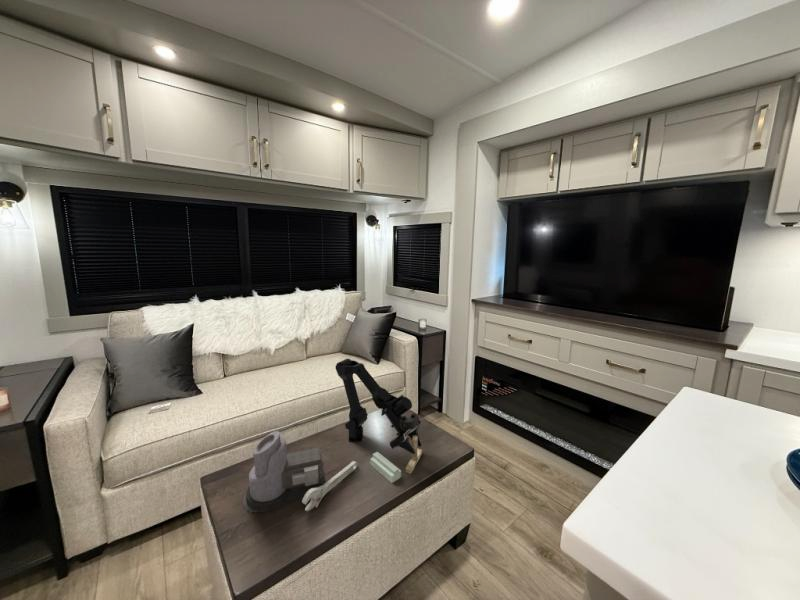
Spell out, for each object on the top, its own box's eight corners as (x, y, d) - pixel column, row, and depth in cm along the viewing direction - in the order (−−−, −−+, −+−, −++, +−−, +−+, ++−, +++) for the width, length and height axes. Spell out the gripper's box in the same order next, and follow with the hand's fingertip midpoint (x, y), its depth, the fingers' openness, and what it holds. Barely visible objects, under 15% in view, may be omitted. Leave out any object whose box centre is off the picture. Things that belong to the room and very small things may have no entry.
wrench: (357, 473, 134) (304, 519, 107) (353, 471, 134) (300, 516, 108) (358, 455, 133) (305, 496, 107) (354, 454, 134) (302, 494, 107)
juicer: (240, 518, 108) (234, 455, 103) (245, 484, 122) (240, 428, 118) (328, 496, 118) (327, 437, 113) (323, 467, 133) (321, 414, 128)
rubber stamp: (410, 474, 130) (411, 447, 128) (405, 472, 131) (406, 445, 129) (422, 453, 143) (423, 428, 140) (417, 452, 144) (418, 427, 141)
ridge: (370, 464, 135) (370, 455, 134) (379, 459, 138) (379, 450, 137) (391, 483, 125) (391, 473, 124) (400, 477, 128) (401, 467, 127)
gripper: (396, 421, 127) (419, 455, 123) (417, 401, 142) (439, 431, 139) (380, 432, 132) (401, 465, 128) (402, 412, 148) (422, 441, 144)
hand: (417, 449), depth 135 cm, fingers open, 5 cm apart
